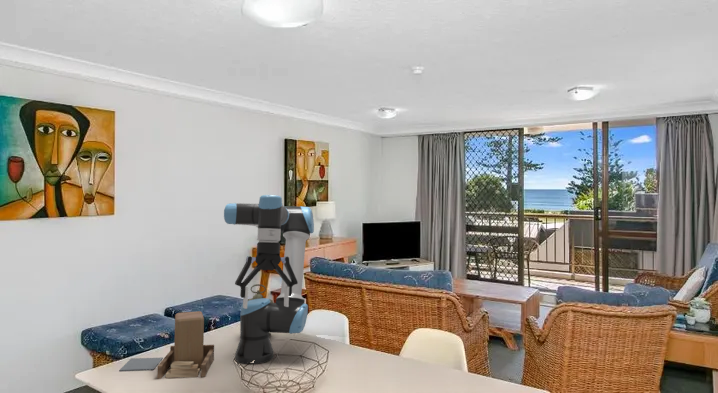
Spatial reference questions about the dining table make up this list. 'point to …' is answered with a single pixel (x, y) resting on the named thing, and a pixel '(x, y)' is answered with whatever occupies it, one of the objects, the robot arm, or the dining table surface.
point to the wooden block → (189, 337)
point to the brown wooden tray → (185, 365)
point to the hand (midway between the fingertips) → (266, 307)
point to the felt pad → (141, 364)
